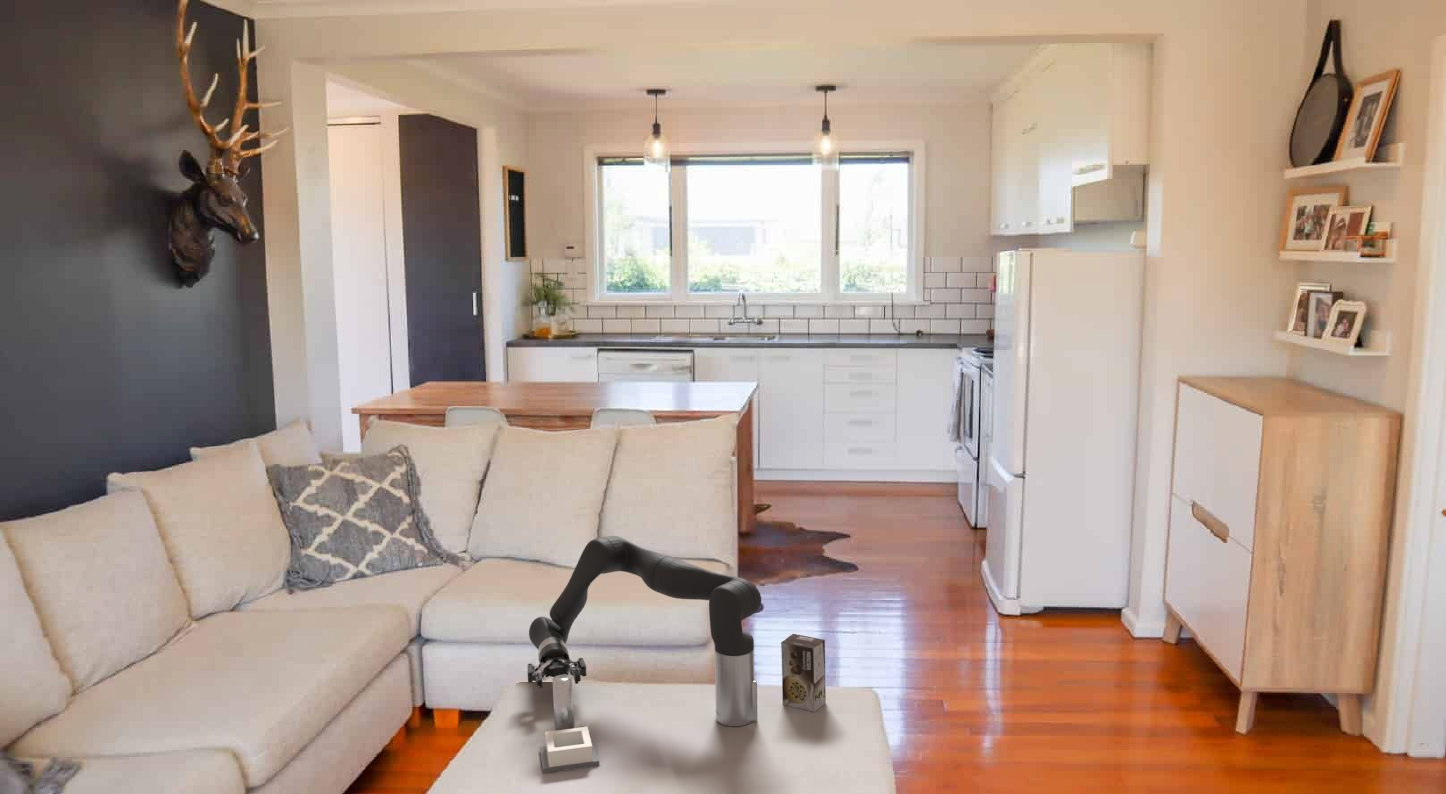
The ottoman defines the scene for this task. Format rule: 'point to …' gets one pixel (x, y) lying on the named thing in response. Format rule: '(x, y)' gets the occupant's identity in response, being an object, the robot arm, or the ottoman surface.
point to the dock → (568, 750)
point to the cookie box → (803, 672)
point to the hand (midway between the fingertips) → (558, 681)
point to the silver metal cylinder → (563, 702)
